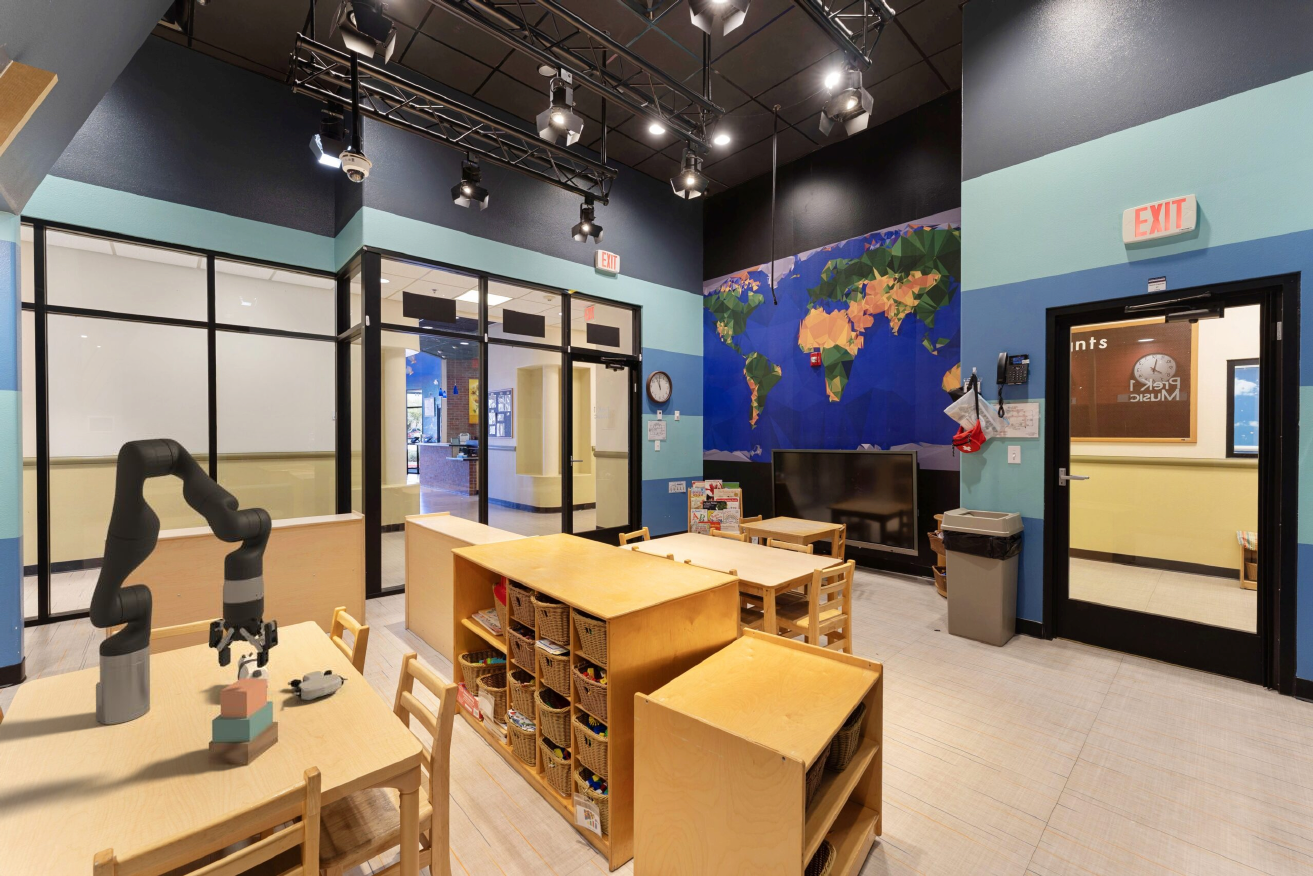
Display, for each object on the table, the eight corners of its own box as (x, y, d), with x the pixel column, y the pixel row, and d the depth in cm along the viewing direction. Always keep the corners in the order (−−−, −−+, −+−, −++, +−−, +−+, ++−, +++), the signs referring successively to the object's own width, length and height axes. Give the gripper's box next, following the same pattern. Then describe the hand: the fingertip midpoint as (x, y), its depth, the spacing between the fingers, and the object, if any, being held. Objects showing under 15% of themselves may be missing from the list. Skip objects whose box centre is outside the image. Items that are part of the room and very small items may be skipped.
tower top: (212, 742, 120) (212, 720, 120) (237, 722, 128) (237, 702, 128) (249, 741, 120) (249, 719, 120) (272, 722, 128) (272, 701, 128)
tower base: (208, 764, 120) (208, 742, 120) (241, 741, 129) (241, 720, 129) (248, 766, 120) (248, 744, 120) (277, 742, 129) (277, 721, 129)
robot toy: (284, 693, 153) (298, 709, 143) (284, 677, 154) (298, 691, 143) (333, 679, 162) (349, 693, 152) (333, 664, 162) (349, 676, 152)
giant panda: (270, 695, 150) (270, 661, 150) (245, 702, 146) (245, 667, 146) (255, 678, 160) (255, 646, 160) (232, 685, 156) (231, 652, 155)
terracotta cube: (220, 717, 121) (220, 691, 121) (241, 703, 127) (241, 678, 127) (246, 718, 121) (246, 691, 121) (266, 704, 127) (266, 679, 127)
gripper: (199, 600, 120) (199, 672, 120) (262, 602, 120) (262, 674, 120) (226, 590, 127) (226, 658, 128) (285, 591, 127) (285, 659, 128)
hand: (243, 666), depth 124 cm, fingers open, 8 cm apart
